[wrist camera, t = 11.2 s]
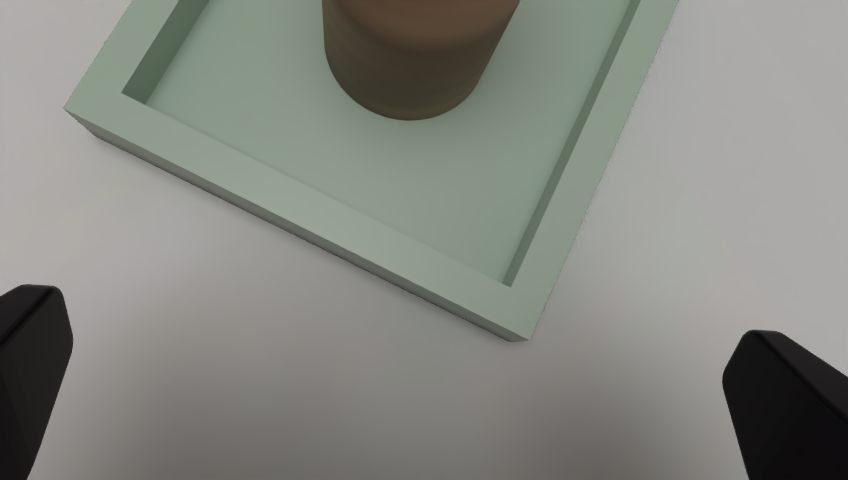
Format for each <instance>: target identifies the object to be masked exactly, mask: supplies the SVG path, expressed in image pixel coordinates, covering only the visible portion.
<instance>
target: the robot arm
mask: <svg viewBox="0 0 848 480" xmlns="http://www.w3.org/2000/svg"><path fill="white" fill-rule="evenodd" d="M72 348H73V334H72V330H71V325H70V321H69V317H68V313H67V309H66V305H65V301H64V297H63V294H62V292H61V291H60V289H58V288H57V287H55V286H48V285H32V284H26V285H20V286H18V287H16V288H14V289H12V290H11V291H9V292H7V293H5V294H4V295H2V296H0V480H27V478H28V476H29V474H30V471H31V469H32V467H33V464H34V462H35V459H36V456H37V454H38V451H39V448H40V445H41V442H42V440H43V437H44V434H45V431H46V428H47V425H48V422H49V419H50V416H51V413H52V410H53V407H54V404H55V401H56V398H57V395H58V392H59V389H60V386H61V383H62V380H63V377H64V374H65V371H66V368H67V365H68V362H69V359H70V356H71V353H72ZM722 384H723V390H724V394H725V397H726V401H727V404H728V408H729V412H730V415H731V419H732V422H733V426H734V429H735V433H736V436H737V440H738V443H739V447H740V450H741V454H742V457H743V461H744V464H745V468H746V472H747V475H748V478H749V480H848V377H847V376H846V375H844V374H843V373H841V372H840V371H838V370H837V369H835V368H834V367H832V366H831V365H829V364H828V363H826V362H825V361H823V360H822V359H820V358H819V357H817V356H816V355H814V354H813V353H811V352H810V351H808V350H807V349H805V348H804V347H802V346H801V345H799V344H798V343H796V342H795V341H793V340H792V339H790V338H788V337H787V336H785V335H784V334H782V333H780V332H777V331H767V330H750V331H748V332H746V333H745V334H744V335H743V336H742V338H741V340H740V342H739V343H738V345H737V347H736V349H735V351H734V353H733V355H732V356H731V358H730V360H729V362H728V364H727V366H726V367H725V370H724V373H723V378H722Z"/></svg>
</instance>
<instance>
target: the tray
mask: <svg viewBox="0 0 848 480" xmlns="http://www.w3.org/2000/svg"><path fill="white" fill-rule="evenodd" d="M678 1H679V0H520V2H519V4H518V6H517V8H516V10H515V12H514V14H513V16H512V18H511V20H510V22H509V24H508V26H507V28H506V29H505V31H504V33H503V35H502V37H501V39H500V41H499V43H498V45H497V47H496V49H495V51H494V53H493V55H492V57H491V59H490V61H489V62H488V64H487V66H486V68H485V70H484V72H483V74H482V76H481V78H480V80H479V82H478V84H477V85H476V87H475V88H474V90H473V91H472V92H471V94H470V95H469V96H468V97H467V98H466V99H465V100H464V101H463V102H461V103H460V104H459V105H458V106H456V107H455V108H453V109H452V110H450V111H448V112H446V113H444V114H441V115H439V116H436V117H433V118H429V119H423V120H413V121H406V120H396V119H391V118H387V117H384V116H381V115H378V114H375V113H373V112H371V111H369V110H367V109H365V108H364V107H362V106H361V105H359V104H358V103H356V102H355V101H354V100H353V99H352V98H351V97H350V96H348V95H347V93H346V92H345V91H344V90H343V89H342V88H341V87H340V85H339V84H338V82H337V81H336V79H335V78H334V76H333V74H332V72H331V70H330V67H329V64H328V61H327V58H326V53H325V47H324V31H323V14H322V0H132V2H131V4H130V5H129V7H128V8H127V10H126V11H125V13H124V14H123V16H122V17H121V19H120V21H119V22H118V24H117V25H116V27H115V28H114V30H113V31H112V33H111V34H110V36H109V37H108V39H107V41H106V42H105V44H104V45H103V47H102V48H101V50H100V51H99V53H98V54H97V56H96V58H95V59H94V61H93V62H92V64H91V65H90V67H89V68H88V70H87V71H86V73H85V75H84V76H83V78H82V79H81V81H80V82H79V84H78V85H77V87H76V88H75V90H74V91H73V93H72V95H71V96H70V98H69V99H68V101H67V102H66V104H65V105H64V107H63V109H64V110H65V111H67V112H68V113H69V114H70V115H71V116H72V117H74V118H75V119H76V120H77V121H78V122H79V123H80V124H82V125H83V126H84V127H85V128H86V129H87V130H89V131H90V132H91V133H92V134H93V135H94V136H96V137H98V138H100V139H102V140H104V141H106V142H108V143H110V144H112V145H115V146H117V147H119V148H121V149H123V150H125V151H127V152H129V153H131V154H133V155H135V156H137V157H139V158H141V159H143V160H145V161H147V162H149V163H151V164H153V165H155V166H157V167H159V168H161V169H163V170H165V171H167V172H169V173H171V174H173V175H175V176H177V177H179V178H181V179H183V180H185V181H187V182H189V183H191V184H193V185H195V186H197V187H199V188H201V189H203V190H205V191H207V192H209V193H211V194H213V195H215V196H217V197H219V198H221V199H223V200H225V201H227V202H229V203H231V204H233V205H235V206H237V207H239V208H241V209H243V210H245V211H247V212H249V213H252V214H254V215H256V216H258V217H260V218H262V219H264V220H266V221H268V222H270V223H272V224H274V225H276V226H278V227H280V228H282V229H284V230H286V231H288V232H290V233H292V234H294V235H296V236H298V237H300V238H302V239H304V240H306V241H308V242H310V243H312V244H314V245H316V246H318V247H320V248H322V249H324V250H326V251H328V252H330V253H332V254H334V255H336V256H338V257H340V258H342V259H344V260H346V261H348V262H350V263H352V264H354V265H356V266H358V267H360V268H362V269H364V270H366V271H368V272H370V273H372V274H374V275H376V276H378V277H380V278H382V279H384V280H386V281H389V282H391V283H393V284H395V285H397V286H399V287H401V288H403V289H405V290H407V291H409V292H411V293H413V294H415V295H417V296H419V297H421V298H423V299H425V300H427V301H429V302H431V303H433V304H435V305H437V306H439V307H441V308H443V309H445V310H447V311H449V312H451V313H453V314H455V315H457V316H459V317H461V318H463V319H465V320H467V321H469V322H471V323H473V324H475V325H477V326H479V327H481V328H483V329H485V330H487V331H489V332H491V333H493V334H495V335H497V336H499V337H501V338H503V339H505V340H507V341H528V340H530V339H531V337H532V335H533V332H534V330H535V328H536V326H537V323H538V321H539V319H540V316H541V314H542V312H543V310H544V307H545V305H546V303H547V300H548V298H549V296H550V294H551V291H552V289H553V287H554V284H555V282H556V280H557V278H558V275H559V273H560V271H561V268H562V266H563V264H564V262H565V259H566V257H567V255H568V253H569V250H570V248H571V246H572V243H573V241H574V239H575V237H576V234H577V232H578V230H579V227H580V225H581V223H582V221H583V218H584V216H585V214H586V211H587V209H588V207H589V205H590V202H591V200H592V198H593V195H594V193H595V191H596V189H597V186H598V184H599V182H600V179H601V177H602V175H603V173H604V170H605V168H606V166H607V163H608V161H609V159H610V157H611V154H612V152H613V150H614V148H615V145H616V143H617V141H618V138H619V136H620V134H621V132H622V129H623V127H624V125H625V122H626V120H627V118H628V116H629V113H630V111H631V109H632V106H633V104H634V102H635V100H636V97H637V95H638V93H639V90H640V88H641V86H642V84H643V81H644V79H645V77H646V74H647V72H648V70H649V68H650V65H651V63H652V61H653V58H654V56H655V54H656V52H657V49H658V47H659V45H660V43H661V40H662V38H663V36H664V33H665V31H666V29H667V27H668V24H669V22H670V20H671V17H672V15H673V13H674V11H675V8H676V6H677V4H678Z"/></svg>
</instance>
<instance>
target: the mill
mask: <svg viewBox="0 0 848 480" xmlns="http://www.w3.org/2000/svg"><path fill="white" fill-rule="evenodd" d="M519 2H520V0H322V14H323V31H324V47H325V53H326V58H327V61H328V64H329V67H330V70H331V72H332V74H333V76H334V78H335V79H336V81H337V82H338V84H339V85H340V87H341V88H342V89H343V90H344V91H345V92H346V93H347V95H348V96H350V97H351V98H352V99H353V100H354V101H355V102H356V103H358V104H359V105H361V106H362V107H364V108H365V109H367V110H369V111H371V112H373V113H375V114H378V115H381V116H384V117H387V118H391V119H396V120H406V121H413V120H423V119H429V118H433V117H436V116H439V115H441V114H444V113H446V112H448V111H450V110H452V109H453V108H455V107H456V106H458V105H459V104H460V103H461V102H463V101H464V100H465V99H466V98H467V97H468V96H469V95H470V94H471V92H472V91H473V90H474V88H475V87H476V85H477V84H478V82H479V80H480V78H481V76H482V74H483V72H484V70H485V68H486V66H487V64H488V62H489V61H490V59H491V57H492V55H493V53H494V51H495V49H496V47H497V45H498V43H499V41H500V39H501V37H502V35H503V33H504V31H505V29H506V28H507V26H508V24H509V22H510V20H511V18H512V16H513V14H514V12H515V10H516V8H517V6H518V4H519Z"/></svg>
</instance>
